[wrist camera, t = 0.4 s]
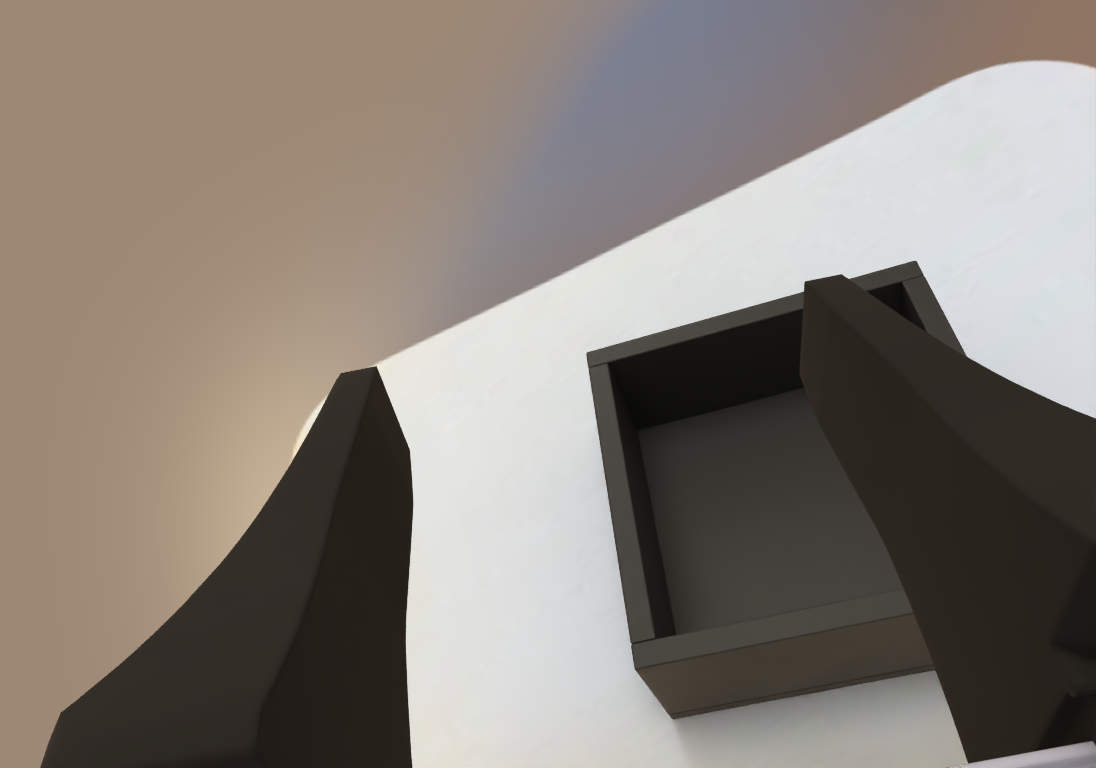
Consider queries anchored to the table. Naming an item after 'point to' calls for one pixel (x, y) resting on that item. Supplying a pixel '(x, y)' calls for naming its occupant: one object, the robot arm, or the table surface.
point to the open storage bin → (747, 512)
